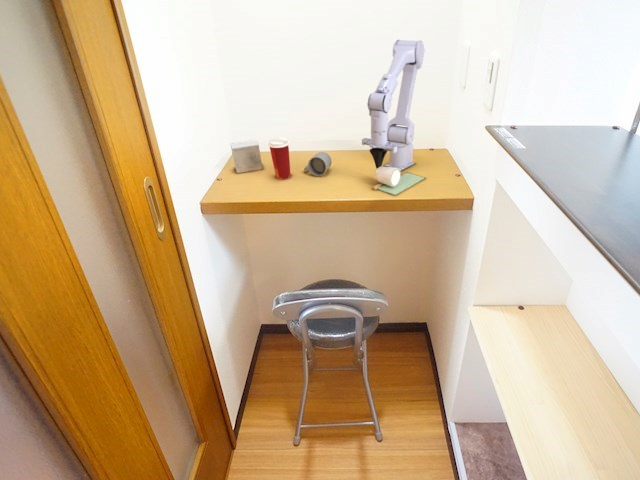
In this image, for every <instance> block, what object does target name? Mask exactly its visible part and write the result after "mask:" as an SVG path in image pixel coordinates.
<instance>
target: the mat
mask: <svg viewBox="0 0 640 480" xmlns="http://www.w3.org/2000/svg"><path fill="white" fill-rule="evenodd" d="M424 179H425V177H422V176H420V175H416V174H413V173H409V172H406V173H403V174H401V178H400V181H399V183H398V185H397V186H396V187H391V186H388V185H386V184H385V185H383V186H381V187H379V188H377V189H376V190H379V191H381V192H384V193H387V194H390V195H392V196H397V195H398V194H400V193H402V192H403V191H405V190H407V189H409V188H410V187H412V186H414V185H416V184H418V183H419V182H421V181H423V180H424Z"/></svg>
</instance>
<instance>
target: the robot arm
mask: <svg viewBox="0 0 640 480" xmlns="http://www.w3.org/2000/svg"><path fill="white" fill-rule="evenodd" d="M424 55H425V44H424V41H423V40H402V39H396V40H395V41H394V43H393V46H392V61H391V63H390V65H389V68H388V71H387V73H384V74H383V75H382V76H381V79H380V80H379V82H378V85H377V87H376V88H375V91H374V92H372V93H370V94H369V96H368V99H367V103H366V104H367V105H366V106H367V109H368V115H369V117H370V138H368V137H363V138H362V139H361V145H363V146H369V147H370V149H369V153H370V154H371V157H372V159H373V161H374V166H375V168H376V170H377V169H378V168H379V167H381V166H382V167H383V162H384V159H385V157H386V155H387V154H388V152H389V162H388V163H386V164H385V165H384V167H392V168H399V169H400V172H401V171H403V170H405V169H407V168H410V167H411V166H413V165H414V164H415V162H414V159H413V158H414V145H413V141H414V138H415V124H414V122H413V121H412V120H411V119H410V113H411V106H412V101H413V96H414V90H415V84H416V79H417V74H418V70H420V69H421V68H422V65H423V62H424V57H425V56H424ZM401 73H402V77H401V83H400V88H399V94H398V100H397V107H396V112H395V116H394V117H393V118H392V119H390V120H389V111H390V109H391V107H392V101H393V95H394V93H395V91H396V88H397V87H398V85H399V81H398V77H399V76H400V74H401Z"/></svg>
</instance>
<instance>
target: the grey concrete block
mask: <svg viewBox="0 0 640 480" xmlns="http://www.w3.org/2000/svg"><path fill="white" fill-rule="evenodd" d="M230 148H231V154H232V158H233V162H234V163H233V164H234V168H235V171H236V174H241V173H246V172H254V171H260V170H264V169H263V163H262V157H261V152H260V151H261V150H260V144H259V142H258V140H257V139H252V140H243V141H235V142H230Z"/></svg>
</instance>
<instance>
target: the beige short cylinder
mask: <svg viewBox="0 0 640 480" xmlns="http://www.w3.org/2000/svg"><path fill="white" fill-rule="evenodd" d="M401 176H402V172H401V171H400V169H399V168H392V167H387V166H383V165H382V166H381V167H379V168H378V169H377V168H376V171H375V176H374V177H375V181H377V183H383V184H386V185H388V186H391V187H396V186H397V185H398V183H399V181H400V178H401Z"/></svg>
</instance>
